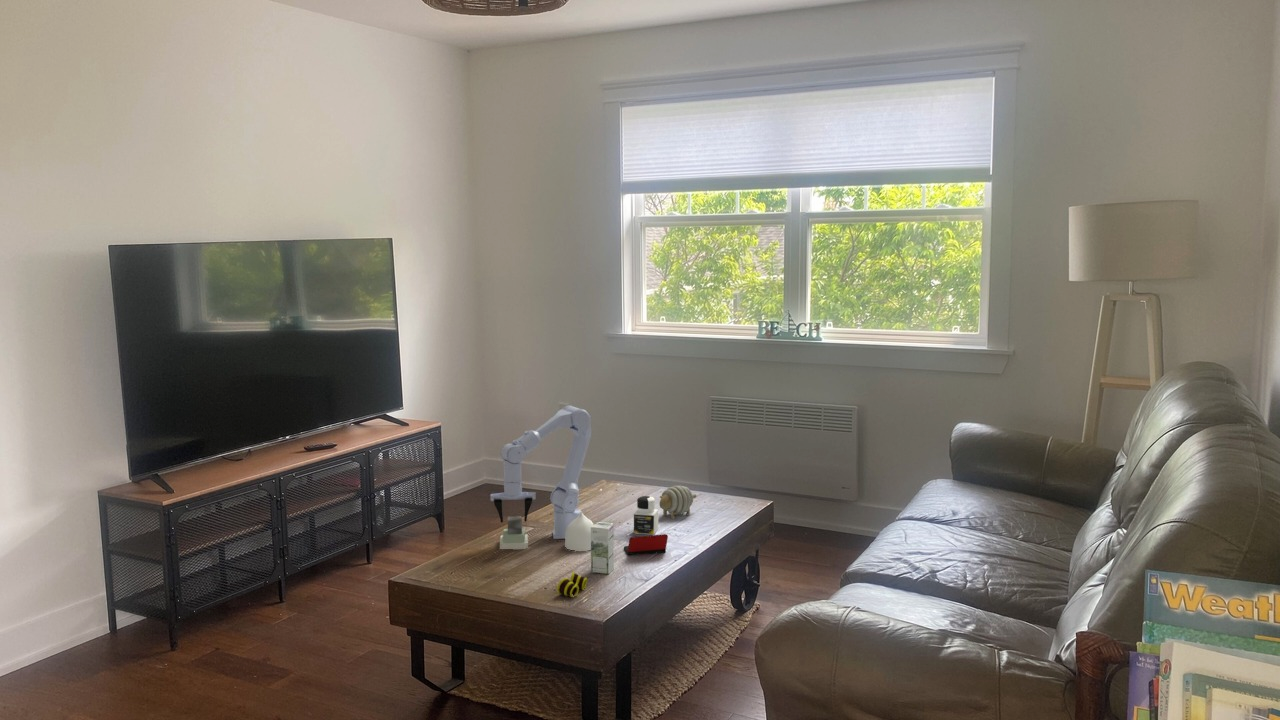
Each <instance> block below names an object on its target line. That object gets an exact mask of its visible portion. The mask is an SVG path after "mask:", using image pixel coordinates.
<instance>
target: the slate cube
mask: <svg viewBox="0 0 1280 720" xmlns="http://www.w3.org/2000/svg"><path fill="white" fill-rule="evenodd" d="M522 520H523V518H522V516H520V515H517V516H507V529H508V534H522V529H523V521H522Z"/></svg>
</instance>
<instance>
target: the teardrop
mask: <svg viewBox="0 0 1280 720" xmlns="http://www.w3.org/2000/svg"><path fill="white" fill-rule="evenodd" d="M593 524H594V523H593V521H592V519H590V518H587V516H585V514H584V512H583V511H582V510H581V512H580V514H579V516H578V517H577V518H576V519H575V520H573V521H572V522H571V523H570V524H569V526H568V527H567V530H566V534H565V538H564V541H565V542H564V548H565V547H566V548H567V549H570V550H575V551H574V552H576V551H586V552H588V551H587V550H591V526H592V525H593ZM566 548H565V549H566ZM567 549H566V550H567ZM570 550H569V551H570Z"/></svg>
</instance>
